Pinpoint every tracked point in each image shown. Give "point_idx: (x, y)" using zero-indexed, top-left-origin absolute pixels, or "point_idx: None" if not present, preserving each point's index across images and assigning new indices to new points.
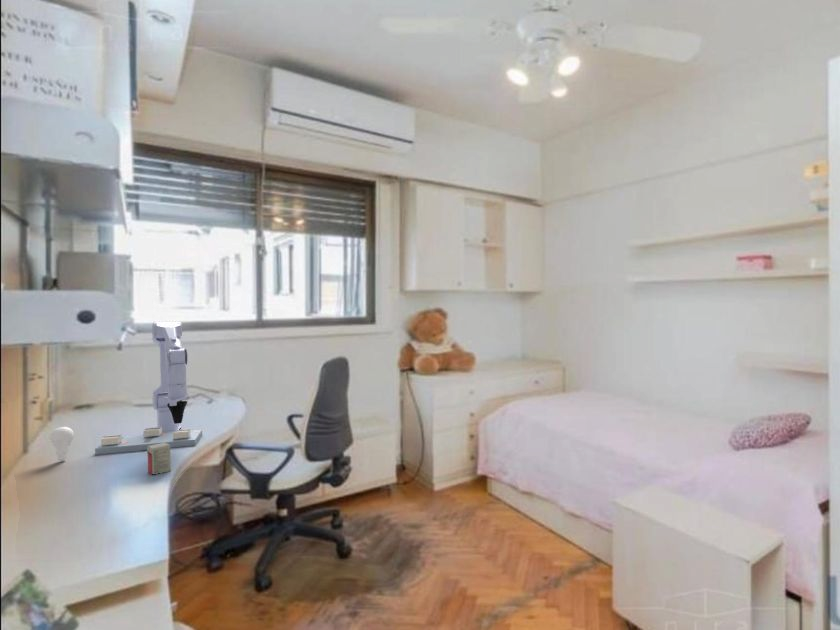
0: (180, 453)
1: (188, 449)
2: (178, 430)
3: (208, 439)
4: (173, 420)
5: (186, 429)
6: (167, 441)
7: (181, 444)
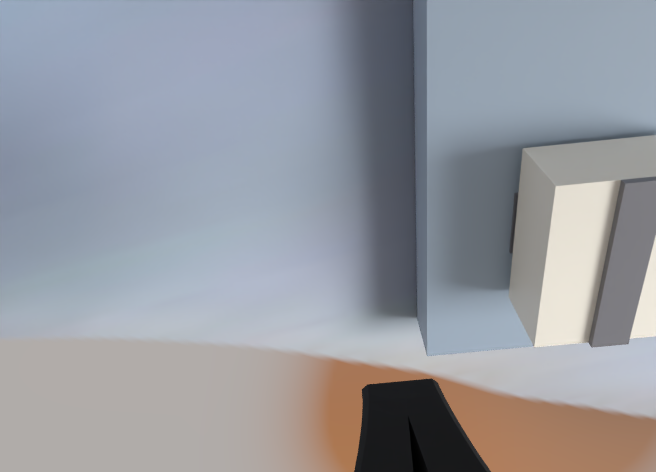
0: (162, 273)
1: (287, 300)
2: (622, 236)
3: (586, 365)
4: (368, 425)
5: (623, 315)
6: (460, 97)
7: (420, 226)
